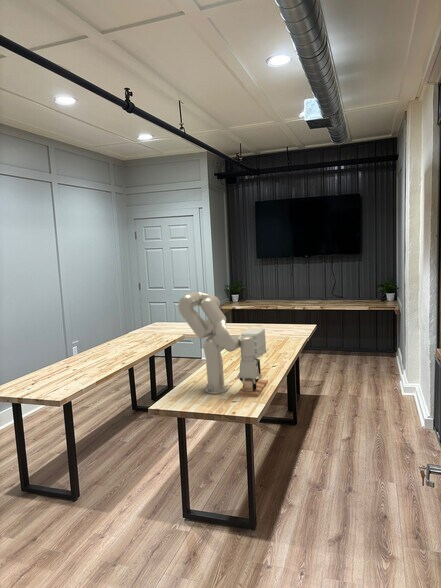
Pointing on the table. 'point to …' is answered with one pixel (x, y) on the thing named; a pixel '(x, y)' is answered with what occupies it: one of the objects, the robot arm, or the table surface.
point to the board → (259, 387)
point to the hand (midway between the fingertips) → (250, 389)
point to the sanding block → (248, 385)
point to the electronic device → (258, 365)
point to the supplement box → (257, 340)
